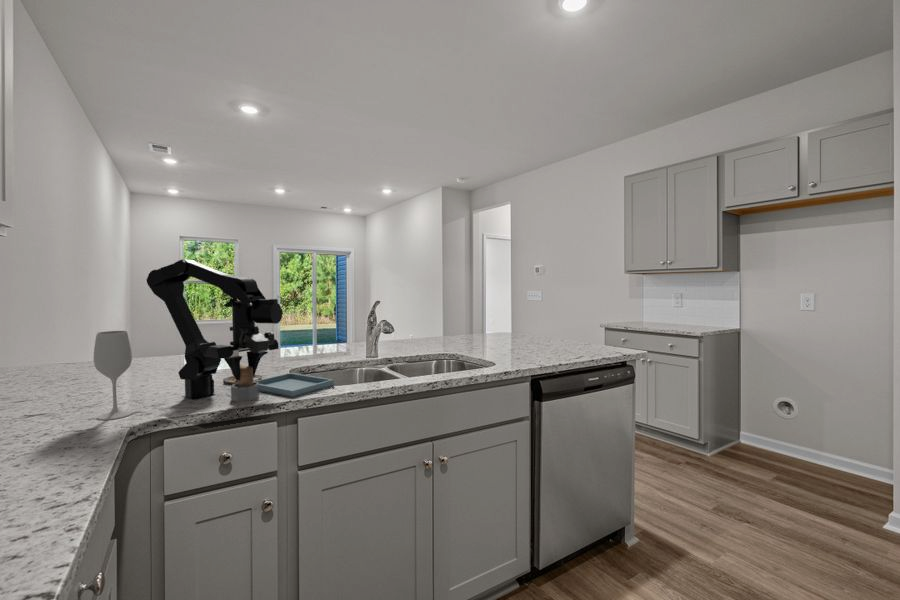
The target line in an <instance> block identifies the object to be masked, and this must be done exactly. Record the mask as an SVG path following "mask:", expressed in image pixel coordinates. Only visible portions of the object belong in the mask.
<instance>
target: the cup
mask: <svg viewBox="0 0 900 600" xmlns="http://www.w3.org/2000/svg"><path fill="white" fill-rule="evenodd" d="M230 398H231V399H230V400H231V402H235V403H236V402H237V403H243V402H252V401H255V400H258V399H259V398H260V391H259V382H253V386H248V387H238V383H236V384H233V385H231V386H230Z"/></svg>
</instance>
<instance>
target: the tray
mask: <svg viewBox="0 0 900 600" xmlns="http://www.w3.org/2000/svg"><path fill="white" fill-rule="evenodd" d="M256 380H257V381H253V382H259V392H262V393H267V394H271V395H276V396H281V397H286V398H291V399H293V398H296V397H300V396H304V395H306V394H310V393H314V392H318V391H321V390H324V389H323V388H325V389H330V388H331V387H334V388H335V379H332V378H326V377H318V376H313V375H307V374H301V373H293V372H287V373H284V374H279V375H274V376H270V377H266V378H261V379H259V380H258V379H256ZM331 389H332V388H331Z"/></svg>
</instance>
